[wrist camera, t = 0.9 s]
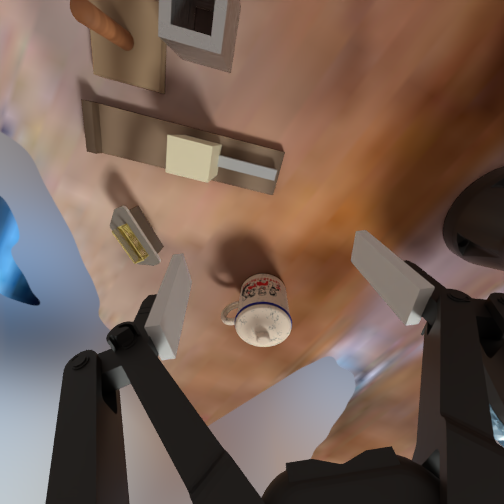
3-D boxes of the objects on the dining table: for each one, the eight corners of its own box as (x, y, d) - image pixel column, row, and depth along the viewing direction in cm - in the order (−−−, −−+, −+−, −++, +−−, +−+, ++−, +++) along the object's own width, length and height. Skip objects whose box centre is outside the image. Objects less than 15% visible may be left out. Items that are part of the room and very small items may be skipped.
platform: (148, 278, 43) (130, 300, 37) (85, 190, 36) (50, 201, 30) (202, 260, 41) (192, 281, 35) (147, 162, 33) (122, 167, 27)
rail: (284, 152, 31) (285, 153, 29) (272, 193, 34) (273, 197, 32) (94, 102, 29) (81, 99, 27) (98, 150, 32) (86, 151, 30)
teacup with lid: (283, 268, 40) (290, 313, 30) (290, 306, 44) (298, 358, 34) (219, 277, 42) (205, 324, 31) (231, 314, 46) (222, 365, 35)
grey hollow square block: (240, 6, 25) (232, -38, 18) (230, 73, 27) (220, 54, 21) (187, -10, 24) (160, -61, 18) (182, 59, 27) (157, 36, 21)
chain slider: (279, 159, 30) (282, 164, 25) (271, 188, 32) (272, 198, 27) (184, 135, 29) (167, 134, 24) (182, 166, 31) (165, 172, 26)
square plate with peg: (167, 9, 25) (126, -45, 17) (164, 93, 29) (128, 78, 21) (95, -12, 24) (20, -78, 17) (101, 76, 28) (42, 55, 21)
